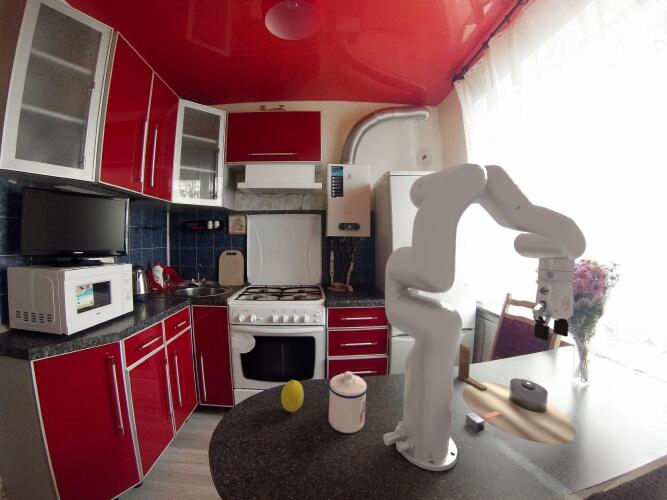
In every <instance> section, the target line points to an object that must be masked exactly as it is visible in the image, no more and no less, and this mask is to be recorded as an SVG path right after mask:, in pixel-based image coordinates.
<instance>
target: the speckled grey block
mask: <svg viewBox="0 0 667 500" xmlns="http://www.w3.org/2000/svg"><path fill="white" fill-rule="evenodd" d="M465 425H466V426H467V427H469V428H470V430H472V431H473V432H474V433H476V434H478V433H481V432H483V431H484V430H485V426H484V425H485V420H484V419H482V418H481V417H480V416H478V415H477V414H476V413H475V412H474V411H472V412H469V413H466V414H465Z"/></svg>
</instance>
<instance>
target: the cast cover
mask: <svg viewBox="0 0 667 500" xmlns="http://www.w3.org/2000/svg"><path fill="white" fill-rule="evenodd" d="M509 386H510V393H509V398H510V400H511V401H512V402H513V403H514V404H516V405H517V406H519V407H521V408H523V409H526V410H528V411H532V412H537V413H543V412H546V409H547V403H548V397H549V396H548V393H549V392H548V390H547V389H546V388H545V387H543V386H542V385H540V384H539V383H536V382H535V381H531V380H528V379H524V378H511V379H510V383H509Z"/></svg>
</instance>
